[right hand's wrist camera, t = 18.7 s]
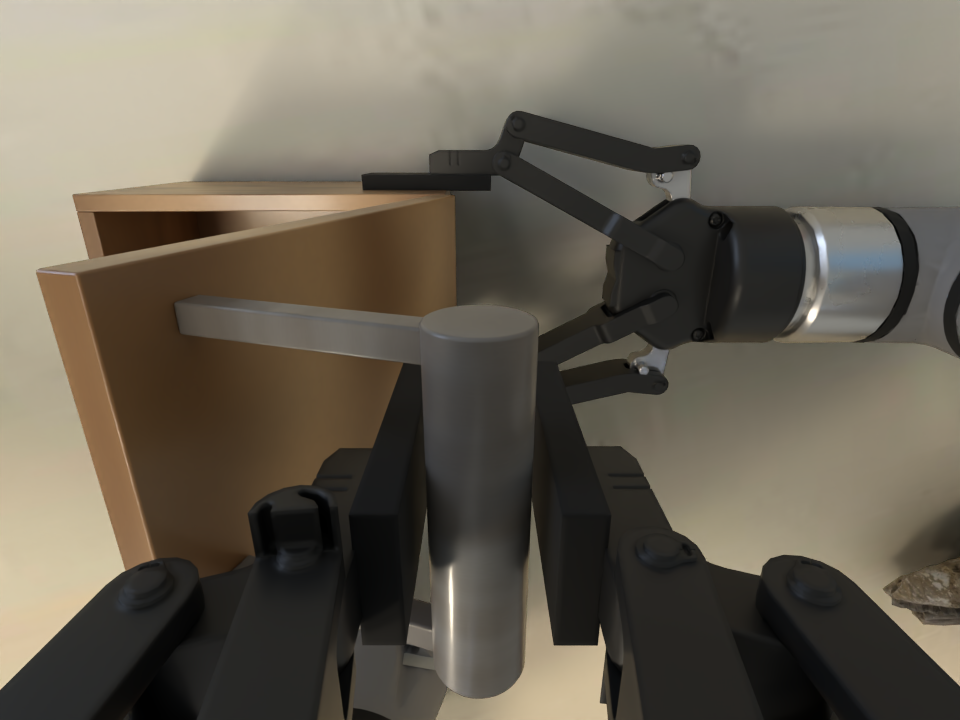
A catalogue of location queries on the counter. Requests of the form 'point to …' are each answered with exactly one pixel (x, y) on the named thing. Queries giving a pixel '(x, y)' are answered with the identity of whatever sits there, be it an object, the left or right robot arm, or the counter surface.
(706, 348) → the counter surface
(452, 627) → the lid
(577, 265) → the counter surface
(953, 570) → the fossil
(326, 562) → the right robot arm
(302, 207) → the chest
